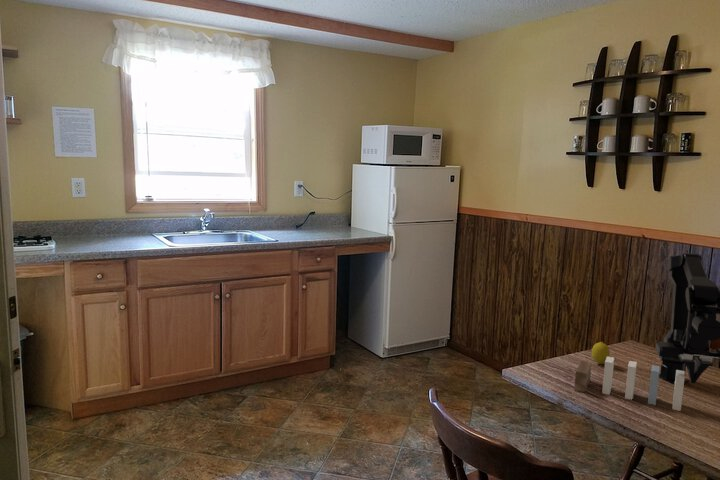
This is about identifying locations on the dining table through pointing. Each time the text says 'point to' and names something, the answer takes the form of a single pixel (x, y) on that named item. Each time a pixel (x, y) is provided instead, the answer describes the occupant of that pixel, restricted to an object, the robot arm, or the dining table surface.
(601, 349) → the lemon
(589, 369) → the end block
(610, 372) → the domino
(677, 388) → the domino
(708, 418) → the dining table surface
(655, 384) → the blue domino
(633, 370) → the domino
